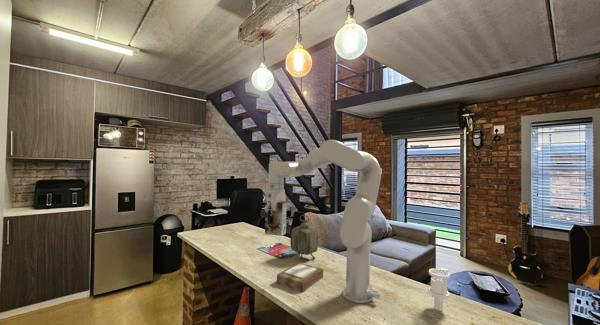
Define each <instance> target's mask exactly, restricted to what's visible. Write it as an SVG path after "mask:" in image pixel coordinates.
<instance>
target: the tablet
mask: <svg viewBox="0 0 600 325" xmlns="http://www.w3.org/2000/svg"><path fill="white" fill-rule="evenodd" d="M274 244H275V245H274V246H273V247H271V246H270V247H267V248H266V247H264V246H261V247H257V248H256V250H258V251H261V252H262V253H265V254H267V255H270V256H272V257H274V258H277V259H279V260H285V259H288V258H291V257H294V256H297V255H299V254H298V253H297V252H295V251H293V250H292V249H291V245H287V244H286V243H285V244H284V243H282V242H276V243H274Z"/></svg>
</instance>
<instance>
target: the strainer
mask: <svg viewBox="0 0 600 325" xmlns="http://www.w3.org/2000/svg"><path fill="white" fill-rule="evenodd" d="M436 273H440V274H444V275H439V274H436ZM428 275H429V276H431V277H430V287H429V288H428V294H429V295H431V297H433V302H434V304H433V309H435V310H436V311H440V312H442V311H444V300H448V299H449V298H450V292H449V291H448V281H447V280H449V279H450V278H451V274H450V271H449V269H448V268H430V269H428Z"/></svg>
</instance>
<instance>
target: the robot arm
mask: <svg viewBox="0 0 600 325" xmlns="http://www.w3.org/2000/svg"><path fill="white" fill-rule="evenodd" d="M331 164H334V165H337V166H339V167H341V168H343V169H345V170H347V171H350V172H353V173H360V177H359V178H358V183H357V187H356V191H355V195H354V196H353V197H351V198H350V199H349V200H348V201H347V202H346V204H345V207H344V211H343V217H342V221H341V226H340V230H339V238H340V241H341V243H342V244H343V245H344V246H345V247H346V263H345V264H346V267H345V268H346V270H345V271H346V272H345V273H346V276H345V287H344V288H343V289H342V292H341V294H342V295H341V296H342V297H343V298H344V299H345V300H347V301H349V302H351V303H354V304H355V303H356V304H367V303H370V302H372V301H373V299H377V300H380V296H381V295H380V293H379V291H378V290H374V289H373V288H372V285H371V283H370V282H371V281H370V277H371V275H370V273H371V268H370V267H371V247H372V246H371V245H372V239H373V238H372V237H373V236H372V235H373V231H372V228H371V225H370V223H369V222H368V221H369V218H370V217H371V216H372V215H373V214H374V213H375V210H376V205H377V199H378V195H379V188H380V184H381V179H382V169H381V166H380V164H379V161H378V160H377V158H376V157H374V156H373V155H372V154H370V153H368V152H367V151H363V150H357V149H355V148H352V147H350V146H347V145H346V144H345V143H343V142H342V141H339V140H336V139H328V140H326V141H324V142H322V144H321V145H320V147H318V148H316V149H312V150H310V151H309V152H308V156H307V157H305V158H303V159H300V160H297V161H282V162H280V161H271V162H269V164H268V190H267V196H266V201H267V205H266V204H265V206H264V208H263V210H264V212H266V214H267V216H268V222H267V223H268V224H273V216H272V215H273V212H274V211H277V203H278V202H284V201H286V200H287V198H286V190H285V188H284V187H285V186H284V185H285V180H284V179H285V178H292V177H293V178H296V177H302V176H303V175H306V174H309V173H311V172H313V171H315V170H317V169H319V168H322V167H326V166H327V165H331ZM286 202H287V201H286ZM287 205H288V204H287V203H286V207H287ZM270 206H271V208H272V209H270V208H269V207H270ZM270 211H271V212H270Z"/></svg>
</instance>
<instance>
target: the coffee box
mask: <svg viewBox="0 0 600 325" xmlns="http://www.w3.org/2000/svg"><path fill="white" fill-rule="evenodd" d="M286 204H287V201H284V202H278V203H277V211H274V212H273V215H272V216H273V224H268V223H267V222H268V216H267V214H266V212H265V211H264V212H265V218H264V220H265V221H264V222H265V223H264V235H270V236H279V237H280V236H281V237H282V236H283V235H285V234H286V233H287V206H286ZM266 205H267V200H266V201H265V206H266ZM269 208H270V209H272V208H271V206H270V207H269ZM270 212H271V211H270Z"/></svg>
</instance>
